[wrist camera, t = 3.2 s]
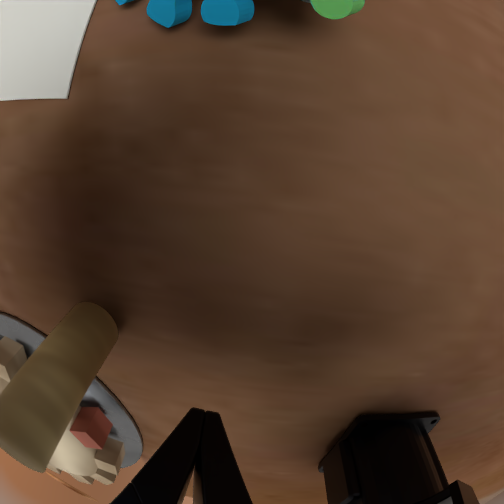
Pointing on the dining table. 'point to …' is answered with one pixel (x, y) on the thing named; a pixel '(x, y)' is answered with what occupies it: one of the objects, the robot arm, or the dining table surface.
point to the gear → (235, 10)
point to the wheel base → (94, 397)
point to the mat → (40, 46)
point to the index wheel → (60, 399)
